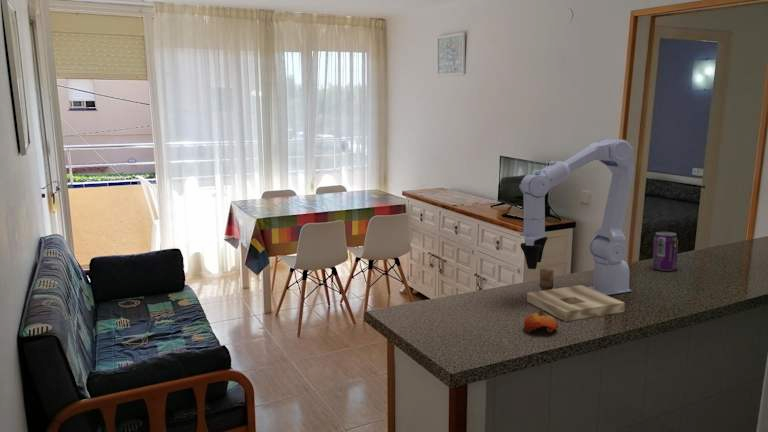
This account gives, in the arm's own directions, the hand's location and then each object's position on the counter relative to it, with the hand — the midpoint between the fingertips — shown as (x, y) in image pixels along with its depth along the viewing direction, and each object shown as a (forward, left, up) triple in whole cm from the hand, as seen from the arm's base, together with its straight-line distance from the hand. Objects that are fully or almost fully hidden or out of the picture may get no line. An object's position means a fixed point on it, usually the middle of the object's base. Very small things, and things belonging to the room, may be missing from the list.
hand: (534, 265), depth 162 cm
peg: (-6, -3, -10) cm, 12 cm away
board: (-6, +10, -10) cm, 15 cm away
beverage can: (-55, -10, -10) cm, 57 cm away
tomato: (+12, +22, -10) cm, 27 cm away
